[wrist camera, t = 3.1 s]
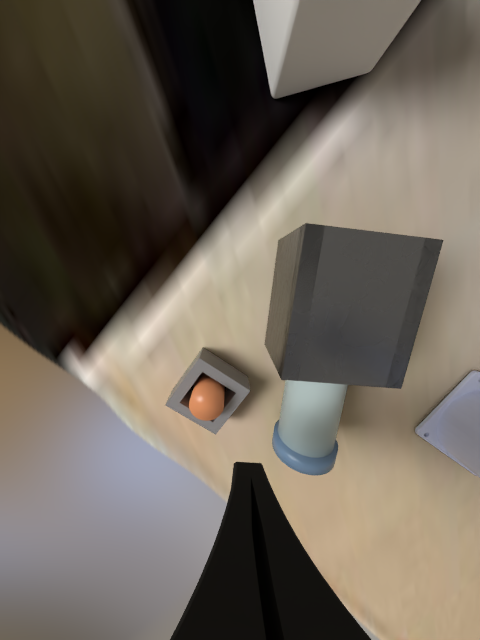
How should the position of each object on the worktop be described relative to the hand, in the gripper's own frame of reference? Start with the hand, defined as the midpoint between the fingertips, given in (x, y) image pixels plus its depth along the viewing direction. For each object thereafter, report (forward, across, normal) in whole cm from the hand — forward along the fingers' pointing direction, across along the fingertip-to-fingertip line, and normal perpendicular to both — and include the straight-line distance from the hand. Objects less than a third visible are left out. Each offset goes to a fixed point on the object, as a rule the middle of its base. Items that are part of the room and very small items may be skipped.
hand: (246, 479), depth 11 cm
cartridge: (+9, -5, -4) cm, 11 cm away
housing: (+9, -6, -8) cm, 13 cm away
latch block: (+9, +3, 0) cm, 10 cm away
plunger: (+9, +3, 0) cm, 9 cm away
